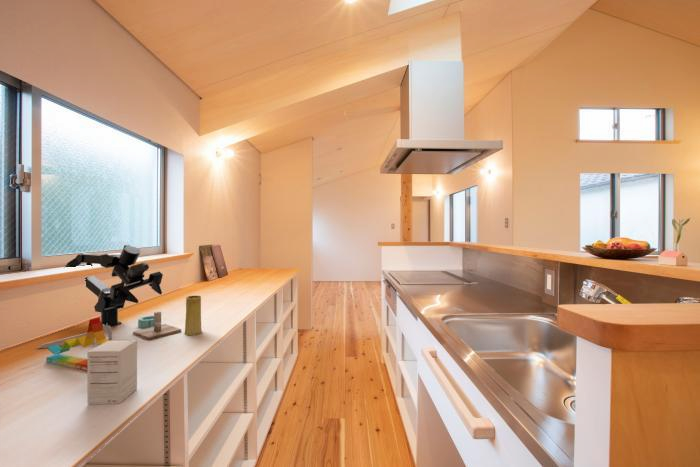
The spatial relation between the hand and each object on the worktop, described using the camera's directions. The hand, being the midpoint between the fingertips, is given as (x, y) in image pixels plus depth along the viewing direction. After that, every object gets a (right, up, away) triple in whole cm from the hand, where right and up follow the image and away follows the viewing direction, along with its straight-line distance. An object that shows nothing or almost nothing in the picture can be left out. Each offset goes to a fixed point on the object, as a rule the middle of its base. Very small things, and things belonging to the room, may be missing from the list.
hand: (149, 297), depth 125 cm
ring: (-6, -13, +9) cm, 17 cm away
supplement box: (+21, -15, -48) cm, 54 cm away
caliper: (-18, -14, -14) cm, 26 cm away
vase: (+17, -14, 0) cm, 22 cm away
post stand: (+4, -14, -1) cm, 14 cm away
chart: (+2, -14, -32) cm, 36 cm away
